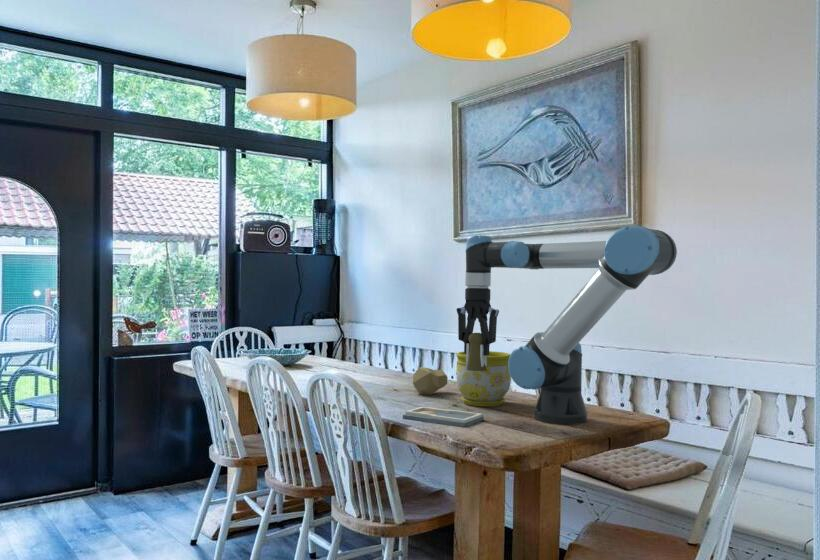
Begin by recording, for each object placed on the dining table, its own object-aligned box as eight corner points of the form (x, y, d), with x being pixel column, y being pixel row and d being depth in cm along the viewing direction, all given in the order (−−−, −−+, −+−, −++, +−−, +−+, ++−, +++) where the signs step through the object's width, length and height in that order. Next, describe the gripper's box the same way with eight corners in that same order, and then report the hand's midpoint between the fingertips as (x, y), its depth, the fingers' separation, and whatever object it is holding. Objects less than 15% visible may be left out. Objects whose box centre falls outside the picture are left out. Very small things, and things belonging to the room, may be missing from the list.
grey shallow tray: (483, 419, 185) (483, 413, 185) (463, 427, 175) (463, 420, 175) (424, 411, 196) (424, 405, 196) (402, 418, 186) (402, 412, 186)
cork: (485, 371, 188) (485, 334, 188) (464, 370, 189) (465, 333, 189) (487, 368, 194) (488, 332, 194) (467, 367, 195) (468, 331, 195)
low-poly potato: (412, 398, 222) (441, 384, 219) (402, 369, 226) (430, 355, 224) (428, 403, 235) (455, 390, 232) (417, 376, 240) (444, 363, 237)
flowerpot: (468, 396, 224) (469, 349, 224) (518, 401, 215) (518, 352, 215) (447, 404, 208) (447, 354, 208) (499, 410, 199) (500, 357, 199)
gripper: (509, 288, 189) (507, 367, 189) (459, 286, 199) (458, 361, 199) (497, 288, 183) (495, 369, 183) (447, 286, 193) (445, 364, 193)
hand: (476, 365), depth 191 cm, fingers closed on cork, 4 cm apart
